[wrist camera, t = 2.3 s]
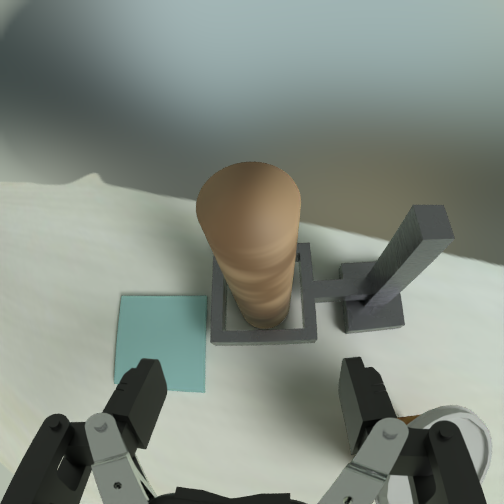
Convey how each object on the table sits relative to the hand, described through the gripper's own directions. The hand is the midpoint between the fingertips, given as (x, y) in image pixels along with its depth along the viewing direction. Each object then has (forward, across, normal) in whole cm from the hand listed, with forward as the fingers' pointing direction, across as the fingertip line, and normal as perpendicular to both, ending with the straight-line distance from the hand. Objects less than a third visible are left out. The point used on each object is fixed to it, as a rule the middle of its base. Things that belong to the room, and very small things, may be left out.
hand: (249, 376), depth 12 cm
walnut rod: (+17, 0, +6) cm, 18 cm away
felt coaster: (+14, +11, +9) cm, 20 cm away
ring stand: (+17, -5, +6) cm, 19 cm away
